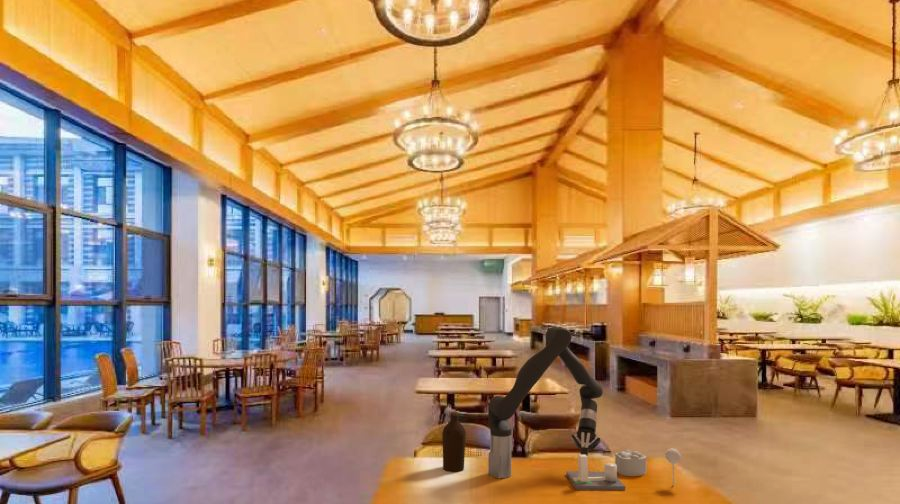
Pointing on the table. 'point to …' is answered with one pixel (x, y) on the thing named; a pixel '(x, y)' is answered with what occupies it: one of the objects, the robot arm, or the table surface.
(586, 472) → the beige u-shaped piece
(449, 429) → the olive oil
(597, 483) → the board
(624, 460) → the lumpy-topped squat cylinder
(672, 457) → the lollipop
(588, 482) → the green band
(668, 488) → the table surface
